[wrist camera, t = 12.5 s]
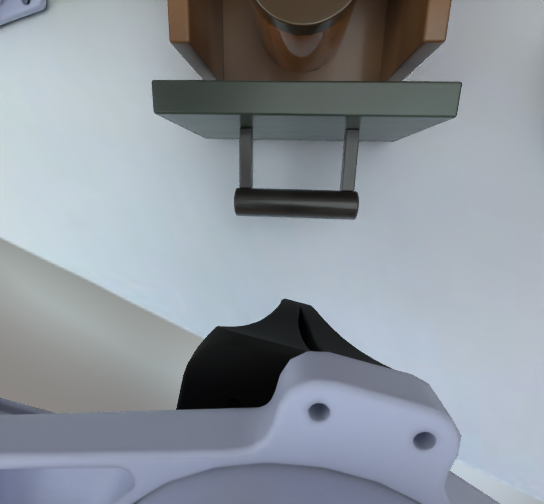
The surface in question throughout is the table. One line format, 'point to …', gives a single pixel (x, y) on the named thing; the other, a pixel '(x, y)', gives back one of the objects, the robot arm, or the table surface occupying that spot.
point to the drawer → (306, 91)
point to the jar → (302, 30)
